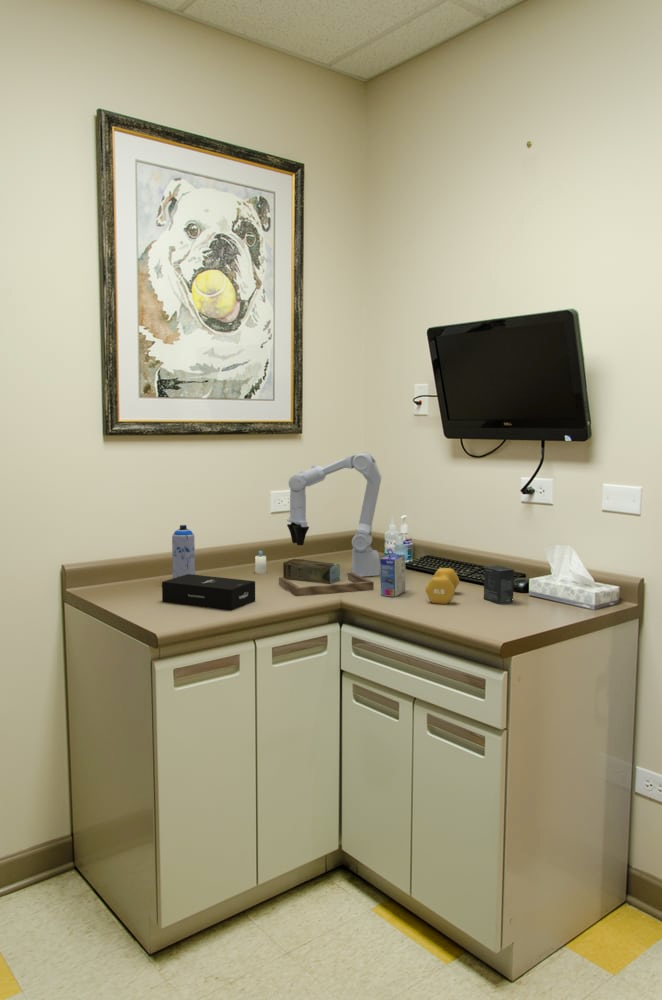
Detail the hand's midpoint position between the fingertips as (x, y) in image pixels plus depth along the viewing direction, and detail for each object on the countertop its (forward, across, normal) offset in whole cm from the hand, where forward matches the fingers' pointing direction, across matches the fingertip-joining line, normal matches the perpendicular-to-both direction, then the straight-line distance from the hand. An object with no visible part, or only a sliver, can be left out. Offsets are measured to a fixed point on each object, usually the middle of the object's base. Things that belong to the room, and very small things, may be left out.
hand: (297, 544), depth 280 cm
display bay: (+10, +28, 0) cm, 30 cm away
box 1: (+11, +34, -41) cm, 54 cm away
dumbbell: (+11, +55, +29) cm, 63 cm away
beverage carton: (+11, +14, 0) cm, 18 cm away
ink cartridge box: (+11, +44, +17) cm, 48 cm away
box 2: (+11, +65, +43) cm, 79 cm away
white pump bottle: (+10, -4, -13) cm, 17 cm away
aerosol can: (+11, +5, -43) cm, 45 cm away
